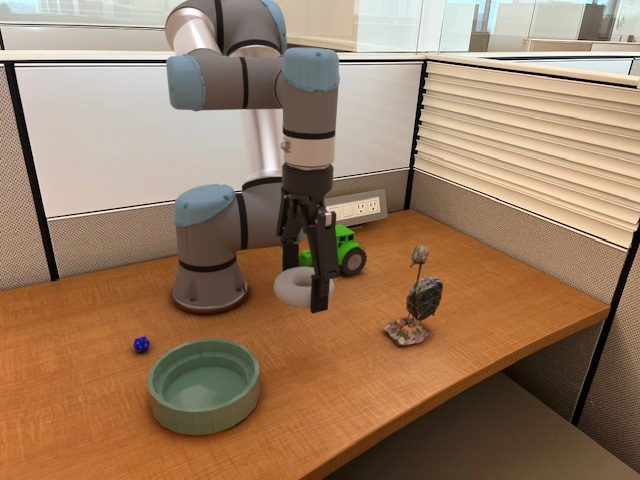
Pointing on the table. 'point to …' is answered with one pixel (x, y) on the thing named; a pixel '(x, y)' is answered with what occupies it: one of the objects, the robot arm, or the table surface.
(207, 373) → the green ribbed bowl
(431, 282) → the stacked rock sculpture
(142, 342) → the die
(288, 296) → the donut
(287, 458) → the table surface
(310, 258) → the toy tractor
